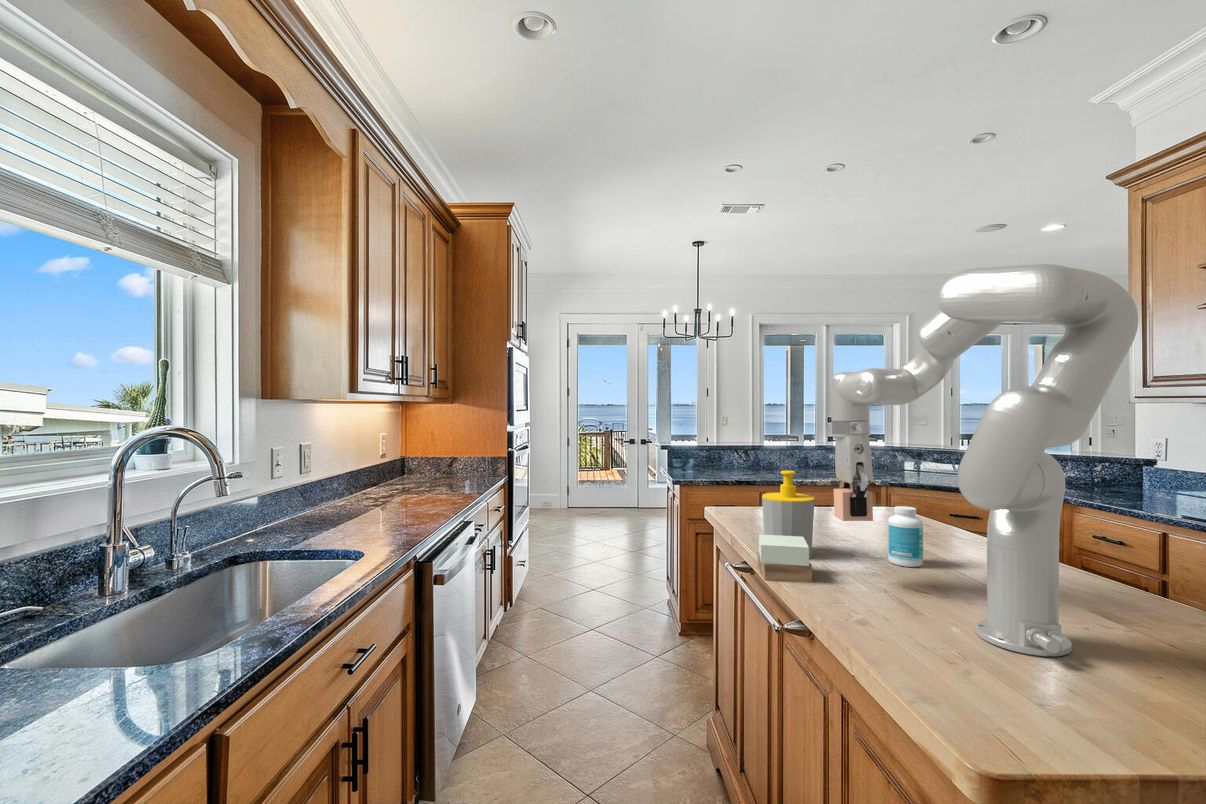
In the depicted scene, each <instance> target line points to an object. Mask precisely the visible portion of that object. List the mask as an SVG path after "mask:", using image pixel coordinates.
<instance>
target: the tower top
mask: <svg viewBox="0 0 1206 804" xmlns="http://www.w3.org/2000/svg"><path fill="white" fill-rule="evenodd" d="M758 552H759V554H760V560H761V563H768V564H785V565H801V566H809V563H810V557H809V547H808V545H807V543H806V541H805V539H804V537H800V536H780V535H764V534H761V533H760V534H759V535H758Z"/></svg>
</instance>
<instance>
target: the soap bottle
mask: <svg viewBox="0 0 1206 804" xmlns="http://www.w3.org/2000/svg"><path fill="white" fill-rule="evenodd" d="M780 474H781V475H783V481H782V482H783V483H782V484H780V487H779V488H780V489H779V491H780V492H767V493H762V495H761V503H762V506H761V507H762V520H763V522H762V523H763V535H780V536H800V537H804V539H805V541H806V543H807V545H808V547H809V558H811V557H812V555H813V554H812V550H813V534H814V519H815V518H814V517H815V503H816V502H815V496H813V495H810V494H804V493H797V485H796V484H794V483H793V479H794V478H793V477H794V475H796V471H795V470H787V469H786V470H781V471H780Z"/></svg>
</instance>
